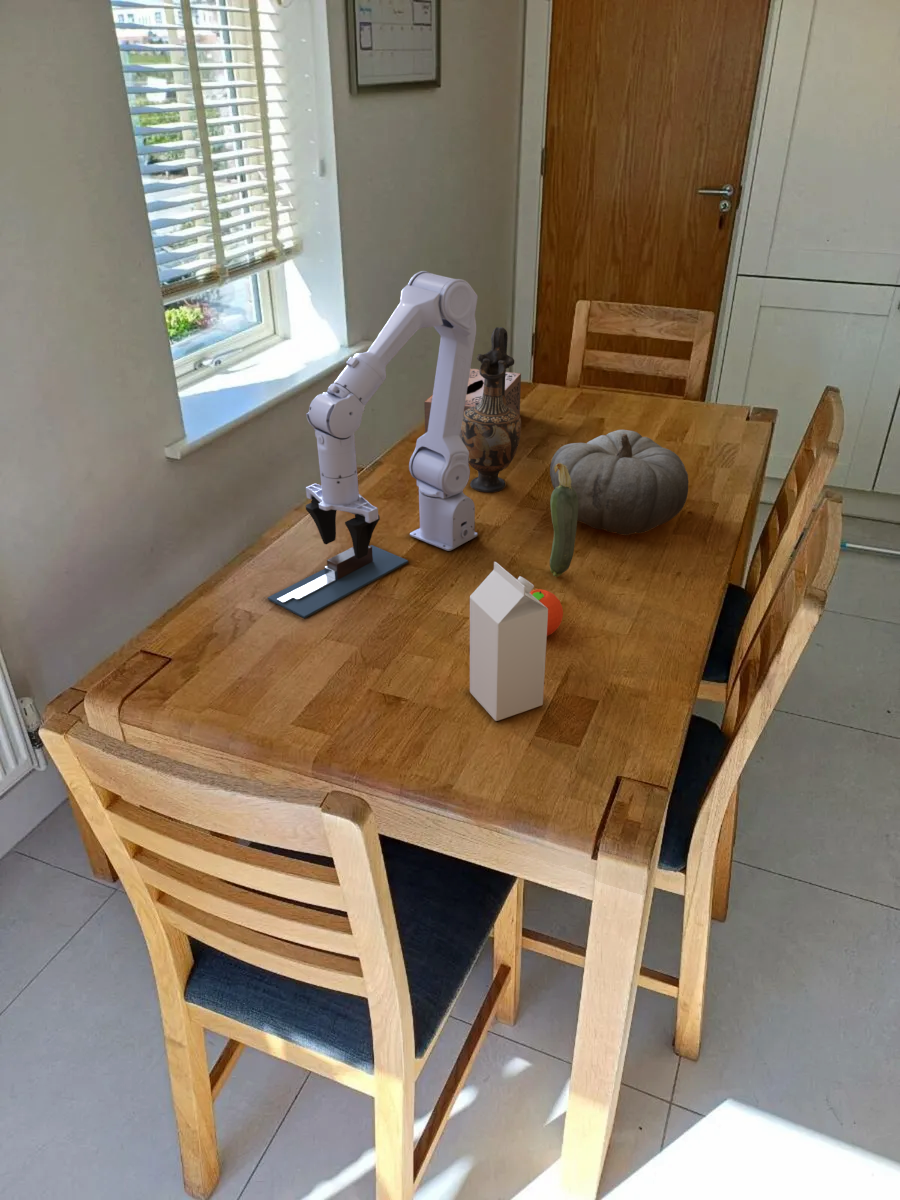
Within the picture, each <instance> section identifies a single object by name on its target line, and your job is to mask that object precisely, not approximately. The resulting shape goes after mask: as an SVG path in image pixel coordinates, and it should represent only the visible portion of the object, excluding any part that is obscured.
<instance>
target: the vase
mask: <svg viewBox="0 0 900 1200" xmlns="http://www.w3.org/2000/svg"><path fill="white" fill-rule="evenodd" d="M508 339H509V338H508V331H507V329H506V328H505V327H499V326H498V327H497V326H496V327H495V328H494V329H493V331H492V333H491V337H490V340H491V341H490V342H491V347H490V350H489V351H488V352H486V353H484V354H482V353H479V354H477V356H476V359H477V361H478V362H480V367H479V373H480V375H481V376H482V377H483V378H485V379H484V390H483V396H482V400H481V402H480V404H479V405H476V406H473V407H470V408H468V409H467V410H466V411H465V412H464V413H463V419H462V425H461V432H460V433H461V440H462V441H463V443H464V445H465V446H466V448H467V449H468V451H469V458H468V464H469V466H470V467H472V469H474V470H475V471H477V477H475V478H473V479H471V481H470V484H469V485H470V486H469V487H471V489H473V490H474V491H475V490H476V491H478V492H482V493H496V492H497V493H498V492H500V491H502V490H504V489H505V488H506V486H507V484H506V481H505V480H504V479H503V478H502V477H499V474H500V472H502V471H504V470H505V469H506V468H508V467H509V465H510V464H511V463H512V461H513V460H514V459H515V456H516V453H517V450H518V448H519V444H520V441H521V436H522V435H521V434H522V418H521V414H520V415H519V414H518V413H517V412H516V411H515V410H513V409H512V408H510V407H507V405H506V400H505V374H506V372H507V369H509V368H510V367H513V366H514V365H515V359H514V358H513V357H512V356H510V355H508V354H507V353H508V352H507V351H508V341H509V340H508Z"/></svg>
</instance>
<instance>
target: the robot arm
mask: <svg viewBox="0 0 900 1200" xmlns="http://www.w3.org/2000/svg"><path fill="white" fill-rule="evenodd" d="M478 296H479V295H478V294H477V293H476V291H475V290H474V288H473V287H472V286H471V284H470V282H468V281H467V280H465V279H462V278H453V277H449V276H444V275H440V274H435V273H432V272H430V271H426V270H421V271H418V272H416V273H415V274H413V275H412V276H411V278H410V279H409V282H408V283H407V284H406V285H405V286H404V287H403V288H402V290H401V291H400V300H399V304H398V305H397V306H396V308H395V309H394V311H393V313H392V314H391V316H390V317H389V318H388V320H387V322H386V323H385V325H384V326H383V328H382V329H381V331H380V332H379V333H378V335H377V337H376V338H375V340H374V341H373V343H372V344H371V345H370V347H369V348H368V350H367V351H364V352H358V353H355V354H354V355H353V356H350V357H348V358H349V359H348V360H346V362H345V363H346V366H345V367H344V368H343V370H342V371H341V372H340V373H339V374H338V376H337V378H336V379H335V380H334V381H333V383H331V384H330V385H329V386H328V387H327V391H324V392H321V393H318V394H317V395H316V396H315V397H314V398H313V399H312V400H311V402H310V404H309V408H308V412H306V414H305V416H306V420H307V422H308V424H309V425H310V426H311V427H312V428H313V430H314V436H315V438H316V445H317V456H318V467H319V474H320V475H319V476H320V484H317V483H312V484H310V485H308V486H305V493H306V498H307V499H309V500H310V502H309V503H307V504H305V510H306V512H307V513H308V514H309V515H310V517H311V518H312V520H313V521H314V524H315V526H316V528H317V530H318V533H319V535H320V538H321V540H322V543H323V544H324V545H329V544H331V543H333V542H335V541H336V539H337V538H336V537H337V525H336V524H337V523H336V522H337V521H336V519H337V512H338V511H340V512H344V513H345V512H346V513H350V514H351V515H354V517H353V518H350V519H348V520H345V522H344V525H345V526H346V528H347V530H348V532H349V534H350V539H351V541H352V547H353V549H354V554H355V557H356V558H358V559H360V558H362V557H364V556H366V555H367V554H368V549H369V546H370V545H371V541H372V536H373V534H374V531H375V529H376V527H377V525H378V523H379V521H380V520H381V519H380V514H379V507H377V506H375V505H374V504H373V505H372V504H371V503H370V502H369V501H368V500H367V499H366V498H364V497H363V495H361V494H360V492H359V476H358V465H357V464H358V463H357V451H356V438H355V436H356V435H355V433H356V432H357V431H359V429H360V428H361V425H362V419H363V418H362V417H363V414H364V412H365V409H366V407H365V406H366V405H367V404H368V403H369V402H370V400H371V399H372V397H374V396H375V394H376V392H378V390H379V388H380V387H381V386H382V385H383V384H384V382H385V381H386V379H387V370H386V366H388V365H389V363H390V362H391V361H392V360H393V359H394V358H395V357H396V355H398V353H399V352H400V351H401V350H402V348H403V347H404V346H405V345H406V344H407V343H408V342H409V341H410V340H411V338H412V337H413V336H414V335H416V333H417V332H418V331H419V330H420V329H426V328H427V329H428V328H434V330H435V332H437V333H438V334H439V337H440V343H439V348H438V355H437V361H436V369H435V377H434V382H433V383H434V384H433V391H432V394H433V397H432V404H431V411H430V418H429V425H428V431H427V432H426V433H425V432H424V433H423V434H422V435H421V436H419V437H418V438H416V443H415V448H414V451H413V453H412V454H411V456H410V459H409V463H408V470H409V474H410V475H411V477H412V478H414V479H415V480H416V486H417V487H418V506H419V507H418V508H419V510H418V511H419V528H417V529H415V530H413V531H410V533H409V536H410V537H412V538H414V539H417V540H420V541H422V542H424V543H427V544H429V545H432V546H434V547H437V548H439V549H441V550H444V551H446V552H451V551H452V550H454V549H456V548H459V547H460V546H461V545H463V544H465V543H467V542H468V541H471V540H473V539H474V538H477V537H478V532H476V531H475V530H476V529H475V528H476V525H475V524H476V521H475V520H476V507H475V502H474V501H473V499H472V498H471V497H469V496H468V495H466V493H464V489H465V488H466V486H467V485H468V483H469V480H470V476H471V469H470V464H469V463H468V458H469V451H468V449H467V448H466V446H465V445H464V443H463V441H462V440H461V438H460V432H461V425H462V419H463V413H464V406H465V400H466V394H467V387H468V381H469V375H470V369H472V368H471V367H472V362H473V355H474V350H475V349H474V348H475V342H476V336H477V321H476V320H477V319H476V311H477V304H478Z"/></svg>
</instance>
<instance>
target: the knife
mask: <svg viewBox="0 0 900 1200" xmlns="http://www.w3.org/2000/svg"><path fill="white" fill-rule="evenodd" d="M371 562H373V554H372V547H371V545H369V549H368V554H367V555H366V556H364V557H362V558H360V559H358V558H356V557H355V554H354V549H353V546H352V547H350V548H347V549H346V550H344V551H342V552H340V553H338V554H336V555H334V556H332V557H330V558H328V559H327V560H326V565H325V566H324V567H323V569H325V575H323V576H321V577H319V578H317V579H315V580H313V581H311V582H309V583H307V584H306V585H304V586H302V587H300V588H298V589H296V590H294V591H292V592H290V593H288V594H286V595H284V596H282V597H280V598H278V599H277V601H279V602H281V603H283V604H285V603H287V602H288V601H290V600H292V599H295V600H297V601H299V600H301V599H303V598H305V597H306V596H308V595H310V594H312V593H314V592H316V591H318V590H320V589H322V588H324V587H326V586H328V585H329V584H331V583H333V582H335V581H337V580H338V579H340V578H342V577H344V576H346V575H348V574H350V573H352V572H353V571H355V570H357V569H359V568H361V567H363V566H365V565H367V564H369V563H371Z"/></svg>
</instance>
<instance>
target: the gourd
mask: <svg viewBox="0 0 900 1200" xmlns="http://www.w3.org/2000/svg"><path fill="white" fill-rule="evenodd" d="M558 463H562V464H563V465H565V466H567V467H566V468H567V469H568V473H569V475H570V477H571V487H573V488H574V489H575V491H576V493H577V496H578V519H577V522H579V523H583V524H584V525H586V526H589V527H591V528H593V529H596V530H604V531H606V532H607V533H608V532H609V533H615V534H617V535H622V536H630V535H634V534H643V533H647V532H649V531H651V530H653V529H655V528H657V527H658V526H661V525H664V524H666V523H668V522H669V521H671V520H672V519H673V518H675V517H676V516H677V515H678V514H679V513H680V512H681V511H682V510H683V508H684V506H685V504H686V502H687V499H688V494H689V474H688V471H687V469H686V467H685V464H684V462H683V461H682V459H681V458H680V456H679V455H678V454H677V453H675V452H674V451H672V450H671V449H668V448H666V447H663V446H661V445H660V444H658V443H657V442H655V441H654V440H653V439H652V438H650V437H648V436H643V435H641V434H640V433H638V431H634V430H627V429H616V430H614V431H610V432H608V433H606V434H602V435H599V436H596V437H595V438H593V439H591V440H589V441H587V442H586V443H585V442H572V443H567V444H564V445H562V446H561V447H559V448H558V449H557V450H556V451H555V453H554V454H553V456H552V458H551V462H550V465H549V467H550V468H549V476H550V481H551V484H552V488H553V490H554V489H555V488H556V487H558V486H560V485H559V484H560V482H559V479H558V472H559V469H558V471H557V472H556V473H555V470H554V467H555V465H556V464H558Z"/></svg>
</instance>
